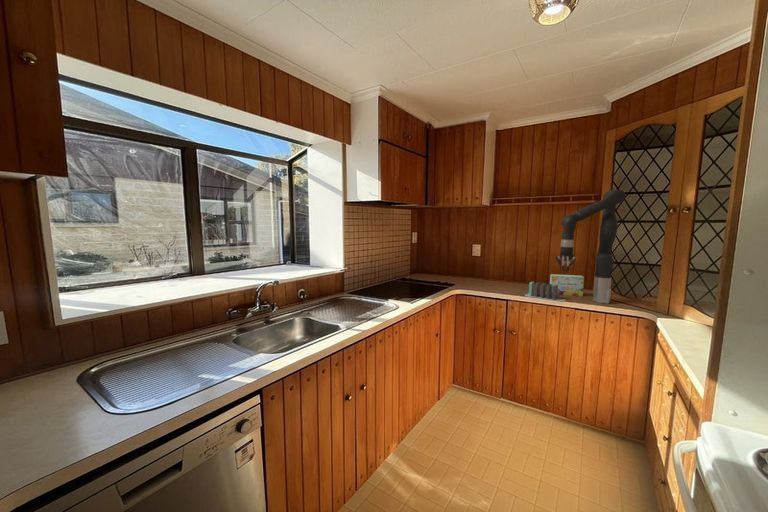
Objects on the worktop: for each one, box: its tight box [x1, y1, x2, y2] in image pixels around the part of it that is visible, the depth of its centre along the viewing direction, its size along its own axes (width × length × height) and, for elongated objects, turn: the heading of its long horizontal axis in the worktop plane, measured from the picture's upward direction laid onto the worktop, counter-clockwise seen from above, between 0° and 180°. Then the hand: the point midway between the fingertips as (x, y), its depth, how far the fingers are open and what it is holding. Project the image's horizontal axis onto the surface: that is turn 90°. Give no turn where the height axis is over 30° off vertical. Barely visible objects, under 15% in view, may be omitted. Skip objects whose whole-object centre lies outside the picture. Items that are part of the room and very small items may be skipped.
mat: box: [524, 292, 567, 303], centre depth 219 cm, size 26×10×1 cm, turn 44°
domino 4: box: [545, 283, 552, 299], centre depth 216 cm, size 2×5×10 cm, turn 134°
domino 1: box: [528, 281, 535, 296], centre depth 225 cm, size 2×5×10 cm, turn 134°
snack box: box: [549, 273, 585, 297], centre depth 227 cm, size 21×6×15 cm, turn 73°
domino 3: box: [539, 282, 547, 298], centre depth 219 cm, size 2×5×10 cm, turn 134°
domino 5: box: [552, 285, 558, 300], centre depth 213 cm, size 2×5×10 cm, turn 134°
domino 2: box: [534, 282, 541, 297], centre depth 222 cm, size 2×5×10 cm, turn 134°
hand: (565, 271), depth 208 cm, fingers closed
